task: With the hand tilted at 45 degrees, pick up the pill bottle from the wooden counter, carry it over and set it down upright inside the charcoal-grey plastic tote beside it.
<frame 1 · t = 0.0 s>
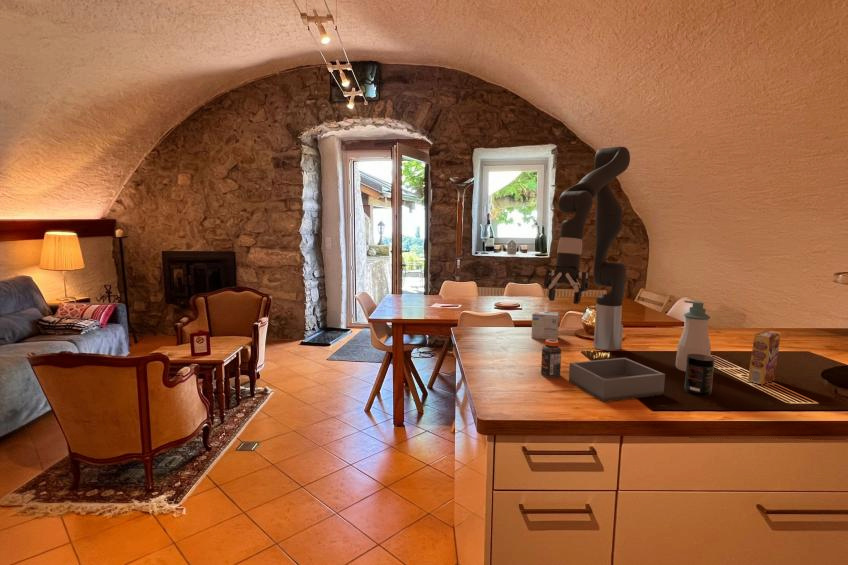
hand: (563, 302, 145), 22 cm above the kitchen island, tool pointing down, fingers open, 8 cm apart
soap bottle: (692, 370, 147), on the kitchen island
tote: (614, 387, 131), on the kitchen island
light bulb box: (544, 338, 188), on the kitchen island
candy box: (761, 382, 137), on the kitchen island
supplement container: (697, 392, 128), on the kitchen island
pill bottle: (550, 375, 142), on the kitchen island
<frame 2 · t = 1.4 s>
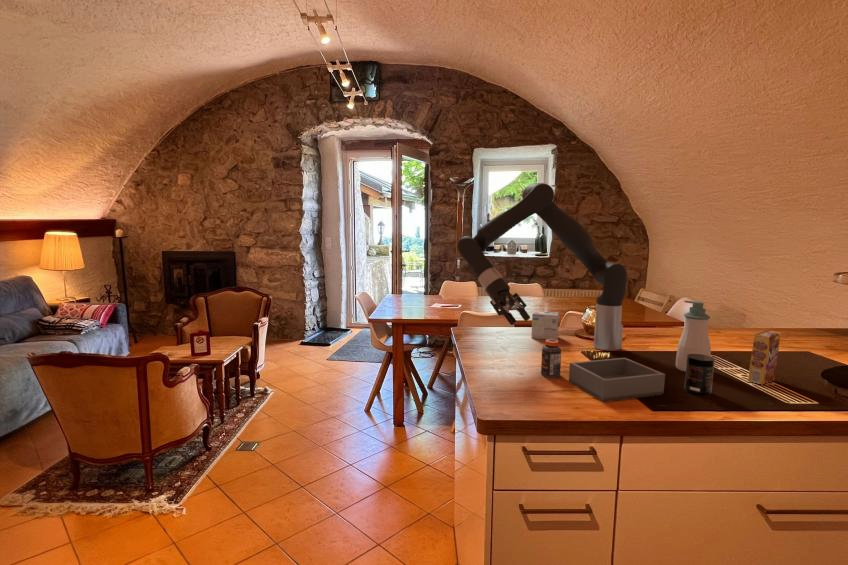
hand: (521, 321, 148), 15 cm above the kitchen island, tool tilted 45°, fingers open, 8 cm apart
nothing on the kitchen island moved.
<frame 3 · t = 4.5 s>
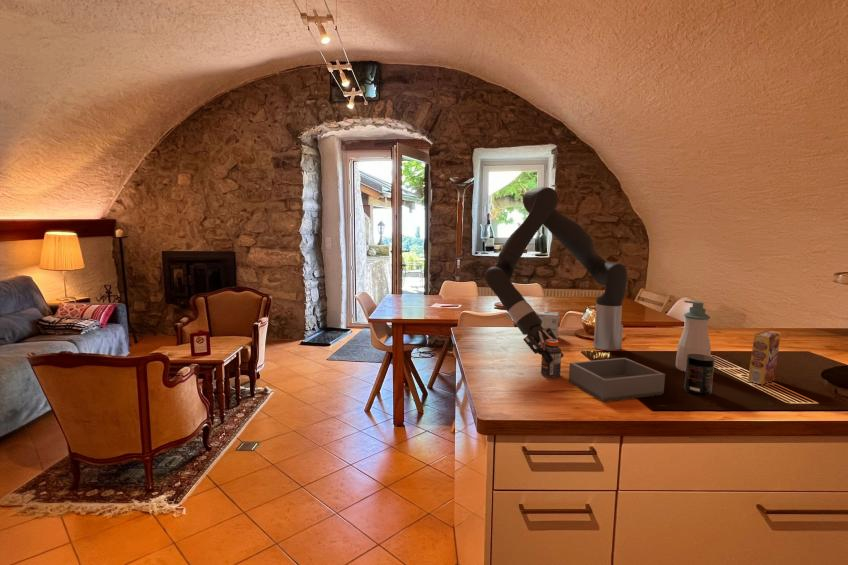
hand: (556, 359, 140), 5 cm above the kitchen island, tool tilted 45°, fingers closed on pill bottle, 6 cm apart
pill bottle: (550, 375, 142), on the kitchen island, touching gripper
everything else where it was.
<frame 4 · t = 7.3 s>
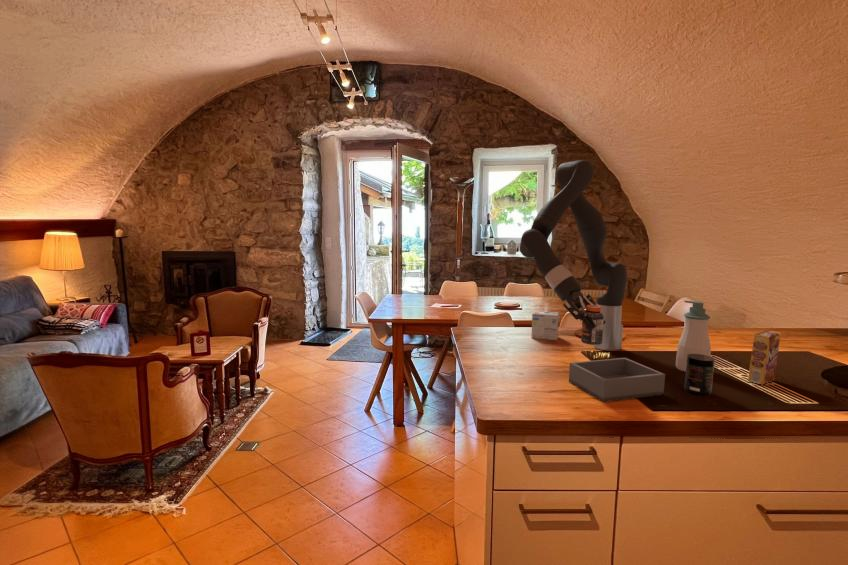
hand: (598, 326, 132), 18 cm above the kitchen island, tool tilted 45°, fingers closed on pill bottle, 6 cm apart
pill bottle: (591, 343, 134), point 12 cm above the kitchen island, touching gripper
everything else where it was.
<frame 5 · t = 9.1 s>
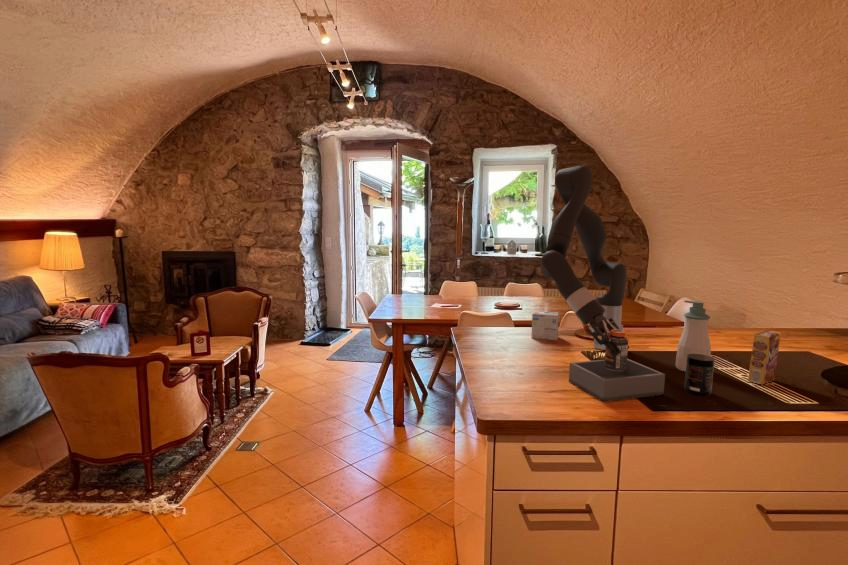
hand: (622, 351, 128), 11 cm above the kitchen island, tool tilted 45°, fingers closed on pill bottle, 6 cm apart
pill bottle: (615, 368, 130), point 6 cm above the kitchen island, touching gripper
everything else where it was.
when the fingers open (8 cm above the kitchen island, at t = 10.3 s): pill bottle drops 1 cm, resting on tote.
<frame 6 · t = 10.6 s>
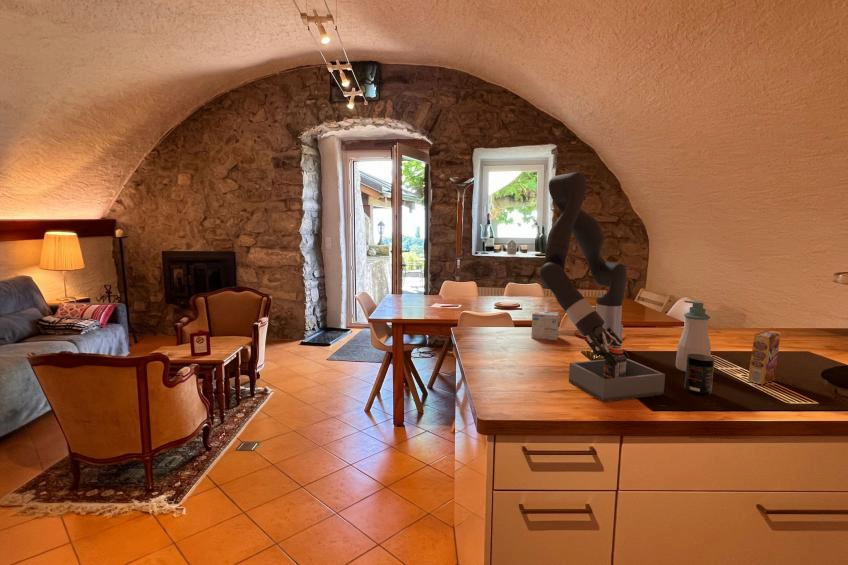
hand: (620, 362, 129), 8 cm above the kitchen island, tool tilted 45°, fingers open, 8 cm apart
pill bottle: (613, 385, 131), point 1 cm above the kitchen island, touching tote
everything else where it was.
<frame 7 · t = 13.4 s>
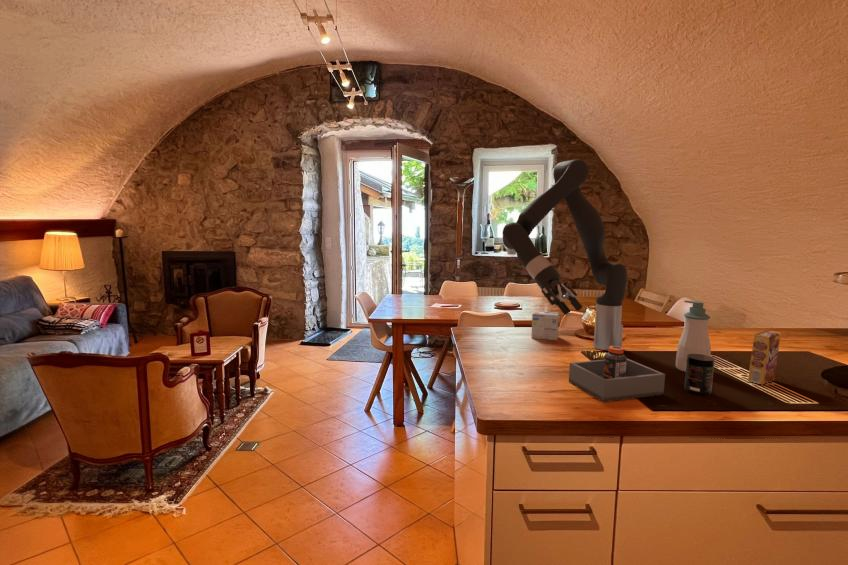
hand: (574, 311, 140), 20 cm above the kitchen island, tool tilted 45°, fingers open, 8 cm apart
nothing on the kitchen island moved.
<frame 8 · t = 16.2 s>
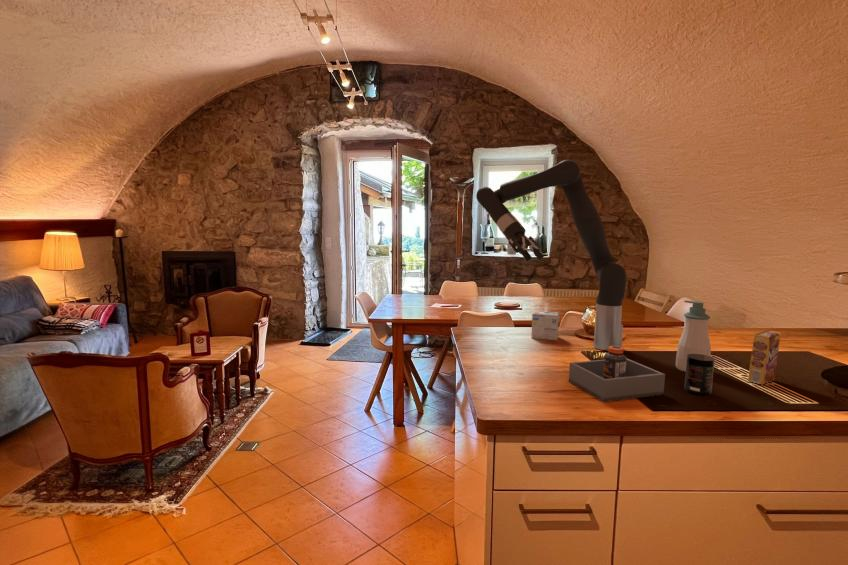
hand: (536, 259, 165), 35 cm above the kitchen island, tool tilted 45°, fingers open, 8 cm apart
nothing on the kitchen island moved.
at the end: pill bottle inside the target area on the tote (0.2 cm from its centre), point 0.8 cm above the tote's base; the gripper is holding nothing; pill bottle tilted 0° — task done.
